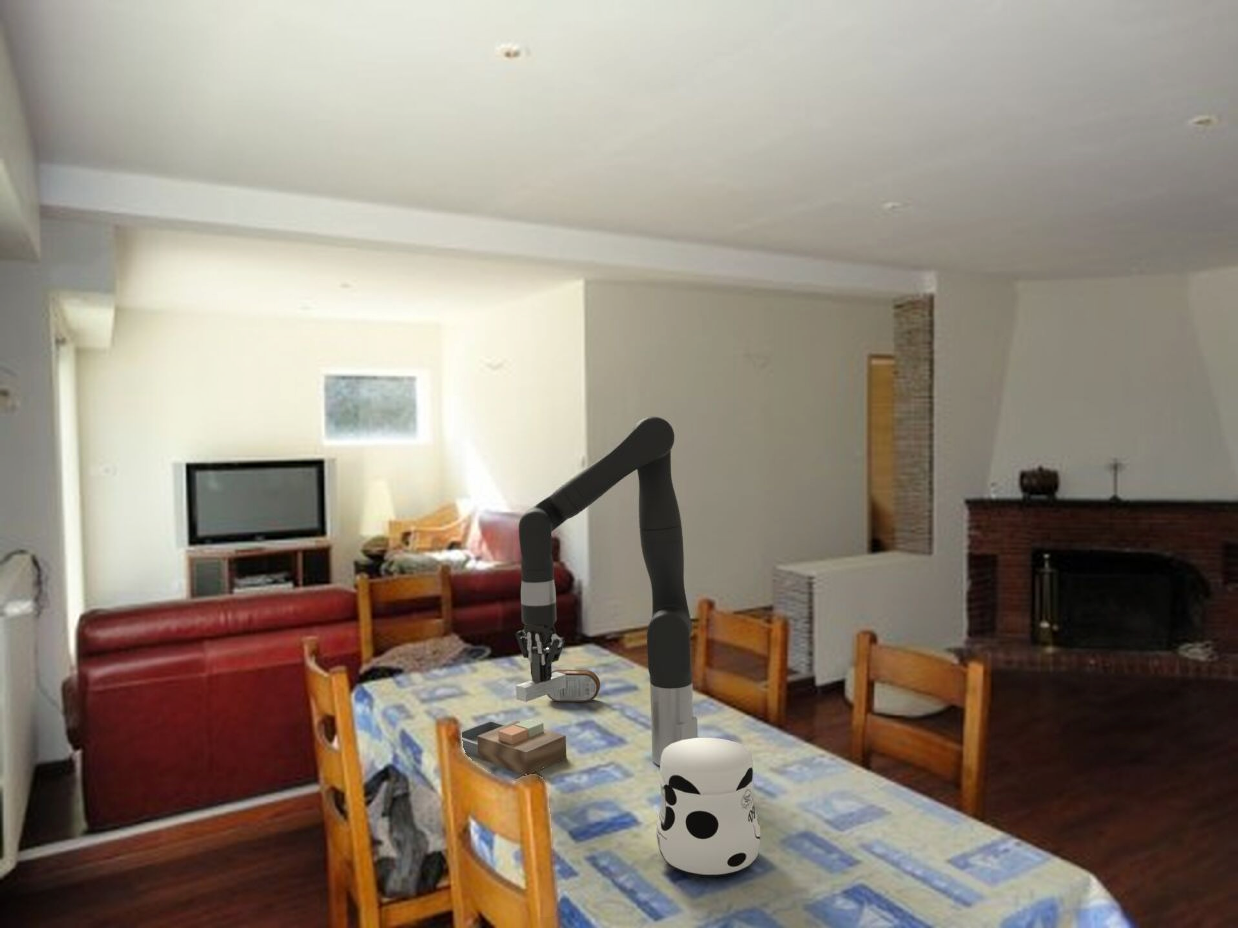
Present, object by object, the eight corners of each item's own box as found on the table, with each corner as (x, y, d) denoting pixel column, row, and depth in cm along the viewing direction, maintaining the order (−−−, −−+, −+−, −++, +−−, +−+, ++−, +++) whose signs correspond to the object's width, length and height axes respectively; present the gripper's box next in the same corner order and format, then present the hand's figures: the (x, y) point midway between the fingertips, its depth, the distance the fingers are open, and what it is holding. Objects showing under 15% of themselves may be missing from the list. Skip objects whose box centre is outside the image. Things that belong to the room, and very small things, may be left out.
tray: (519, 740, 196) (518, 728, 196) (478, 757, 187) (477, 744, 187) (491, 731, 203) (491, 719, 203) (450, 747, 193) (449, 734, 193)
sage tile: (543, 731, 188) (543, 722, 188) (529, 737, 185) (528, 728, 184) (529, 727, 191) (529, 718, 191) (515, 733, 187) (515, 724, 187)
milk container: (782, 859, 139) (780, 753, 138) (712, 900, 128) (709, 785, 127) (706, 824, 152) (703, 727, 151) (636, 858, 141) (633, 754, 140)
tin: (600, 699, 225) (599, 668, 225) (599, 703, 222) (598, 672, 222) (546, 699, 227) (545, 668, 226) (543, 702, 223) (542, 672, 223)
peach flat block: (527, 738, 184) (527, 729, 184) (512, 744, 181) (511, 735, 181) (513, 733, 187) (513, 725, 187) (498, 739, 184) (498, 730, 184)
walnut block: (566, 757, 185) (565, 735, 185) (526, 775, 176) (526, 752, 176) (517, 741, 196) (517, 720, 196) (478, 757, 187) (477, 735, 186)
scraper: (566, 687, 184) (564, 647, 184) (526, 701, 175) (524, 659, 175) (556, 684, 186) (555, 645, 186) (516, 699, 177) (514, 657, 177)
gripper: (573, 601, 178) (576, 680, 179) (529, 594, 188) (532, 670, 188) (548, 607, 173) (551, 689, 173) (504, 600, 182) (506, 678, 183)
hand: (541, 679), depth 181 cm, fingers closed on scraper, 2 cm apart
